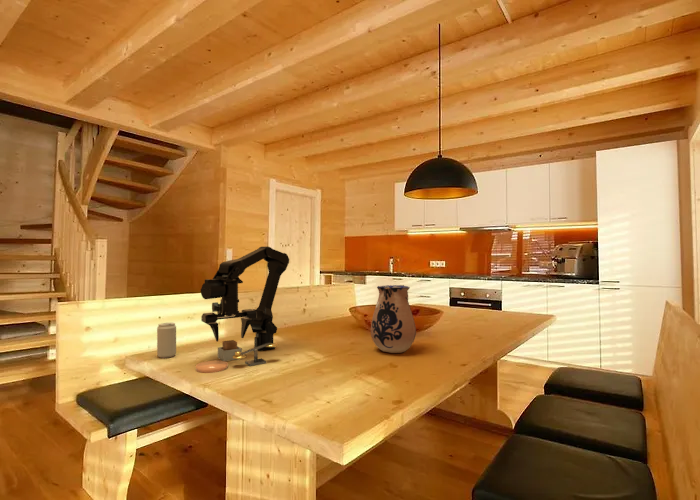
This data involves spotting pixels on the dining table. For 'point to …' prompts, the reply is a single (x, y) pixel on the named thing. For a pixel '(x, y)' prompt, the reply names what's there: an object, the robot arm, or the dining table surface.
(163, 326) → the beverage can
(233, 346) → the block
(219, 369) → the dish
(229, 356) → the collar
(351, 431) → the dining table surface
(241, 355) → the balance
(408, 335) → the ceramic pitcher
